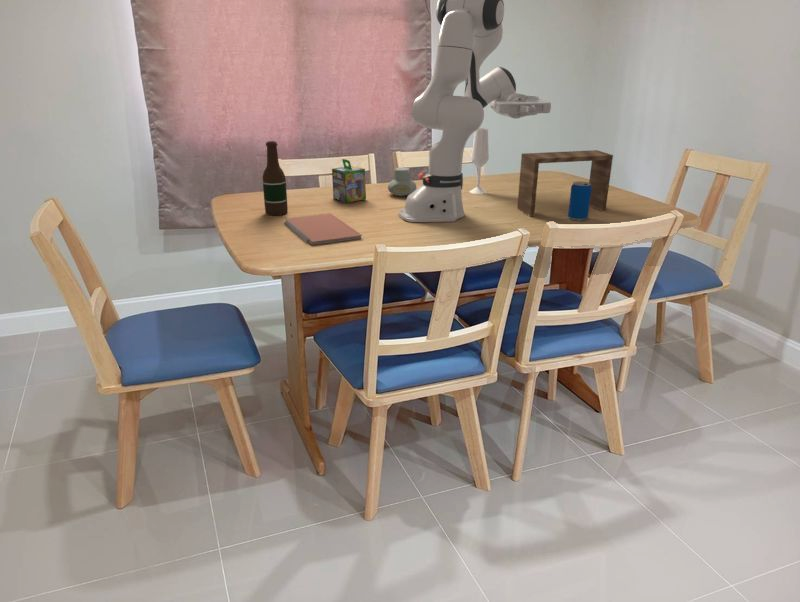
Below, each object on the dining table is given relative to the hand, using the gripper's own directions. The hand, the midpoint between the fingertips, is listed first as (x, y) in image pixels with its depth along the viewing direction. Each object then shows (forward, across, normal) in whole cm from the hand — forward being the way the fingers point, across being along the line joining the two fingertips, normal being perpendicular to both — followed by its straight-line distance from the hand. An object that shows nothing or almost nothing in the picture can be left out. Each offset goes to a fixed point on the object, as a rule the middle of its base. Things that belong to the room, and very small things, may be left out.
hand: (532, 109), depth 219 cm
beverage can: (+26, +8, +33) cm, 43 cm away
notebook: (+18, -78, +34) cm, 87 cm away
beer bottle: (-5, -90, +34) cm, 96 cm away
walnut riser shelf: (+14, +8, +33) cm, 37 cm away
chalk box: (-19, -62, +34) cm, 73 cm away
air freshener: (-21, -41, +33) cm, 57 cm away
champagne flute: (-18, -11, +33) cm, 39 cm away
